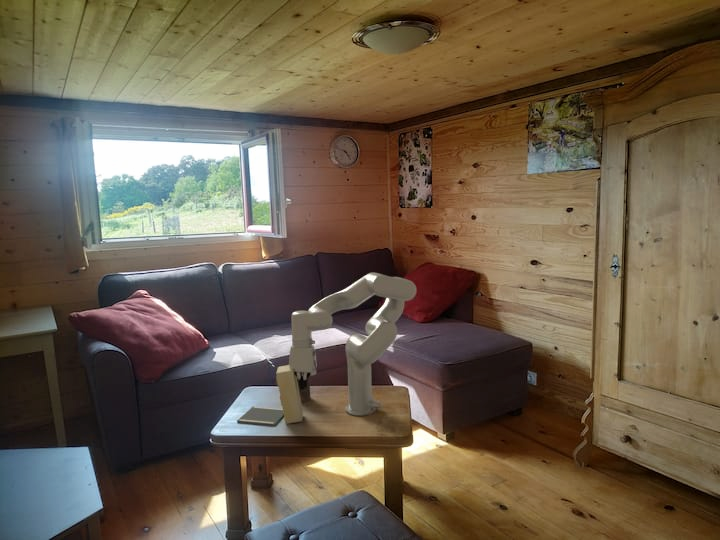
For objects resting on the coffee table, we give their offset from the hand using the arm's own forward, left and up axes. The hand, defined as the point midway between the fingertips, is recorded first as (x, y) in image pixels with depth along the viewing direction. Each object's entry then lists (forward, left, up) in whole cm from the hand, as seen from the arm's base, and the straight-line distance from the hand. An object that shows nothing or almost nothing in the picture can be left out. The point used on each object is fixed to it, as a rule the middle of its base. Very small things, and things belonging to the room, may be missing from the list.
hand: (303, 388), depth 192 cm
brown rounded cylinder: (+9, -20, -14) cm, 26 cm away
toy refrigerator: (+5, 0, -13) cm, 14 cm away
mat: (+18, 0, -13) cm, 22 cm away
